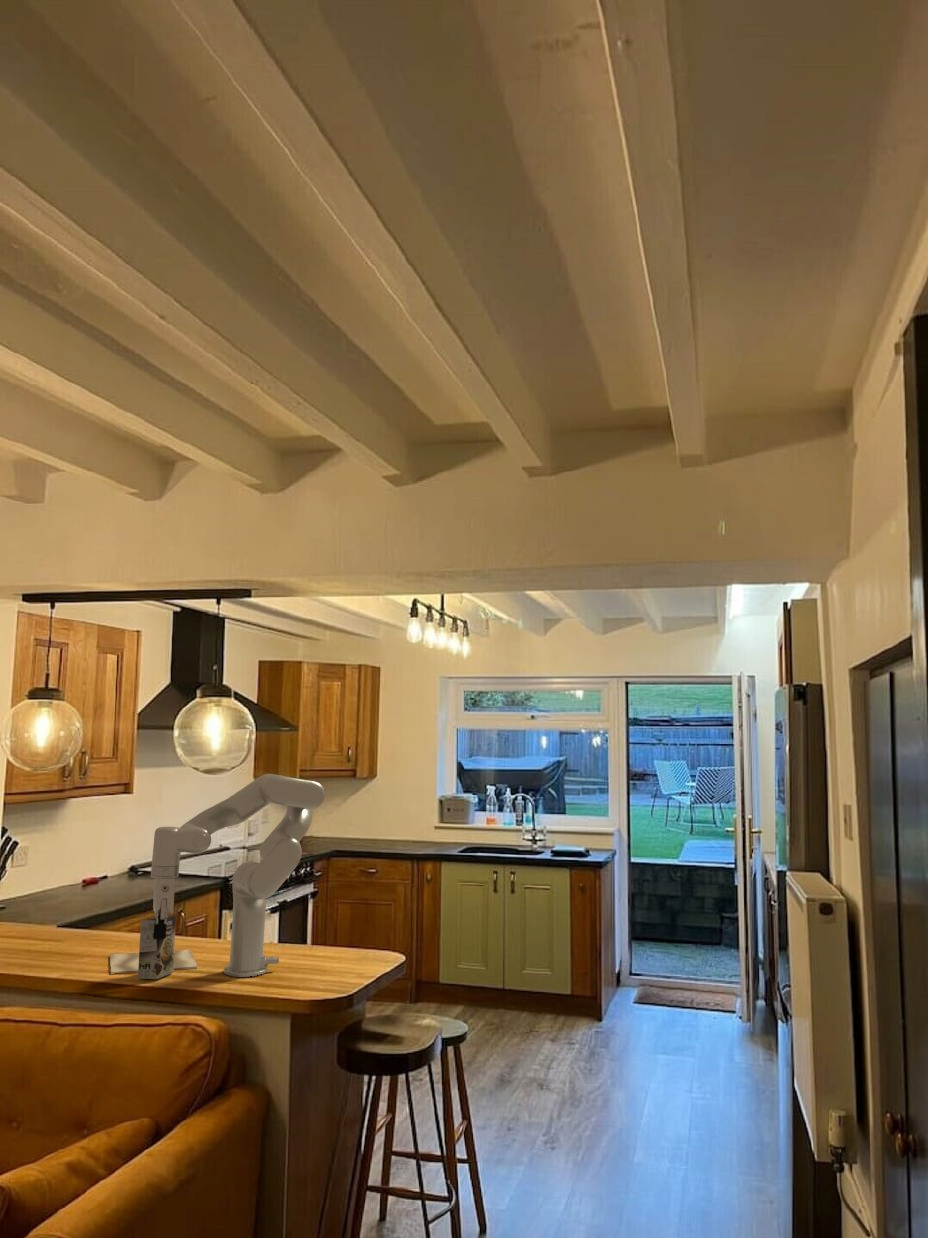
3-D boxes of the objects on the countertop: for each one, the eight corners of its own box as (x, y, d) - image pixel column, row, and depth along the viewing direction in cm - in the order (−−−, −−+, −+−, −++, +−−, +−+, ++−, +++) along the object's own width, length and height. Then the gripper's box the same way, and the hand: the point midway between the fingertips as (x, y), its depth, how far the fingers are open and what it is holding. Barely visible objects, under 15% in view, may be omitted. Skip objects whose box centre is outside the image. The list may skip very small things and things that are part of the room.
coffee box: (157, 979, 245) (160, 919, 248) (136, 979, 246) (139, 919, 249) (174, 972, 254) (176, 914, 257) (154, 972, 255) (157, 914, 258)
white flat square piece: (190, 951, 280) (190, 949, 280) (197, 968, 260) (197, 966, 260) (109, 956, 271) (110, 954, 271) (110, 974, 251) (110, 972, 251)
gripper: (181, 875, 242) (175, 944, 240) (176, 867, 256) (170, 932, 253) (153, 875, 239) (146, 945, 237) (149, 868, 253) (143, 933, 250)
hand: (159, 938), depth 245 cm, fingers closed
